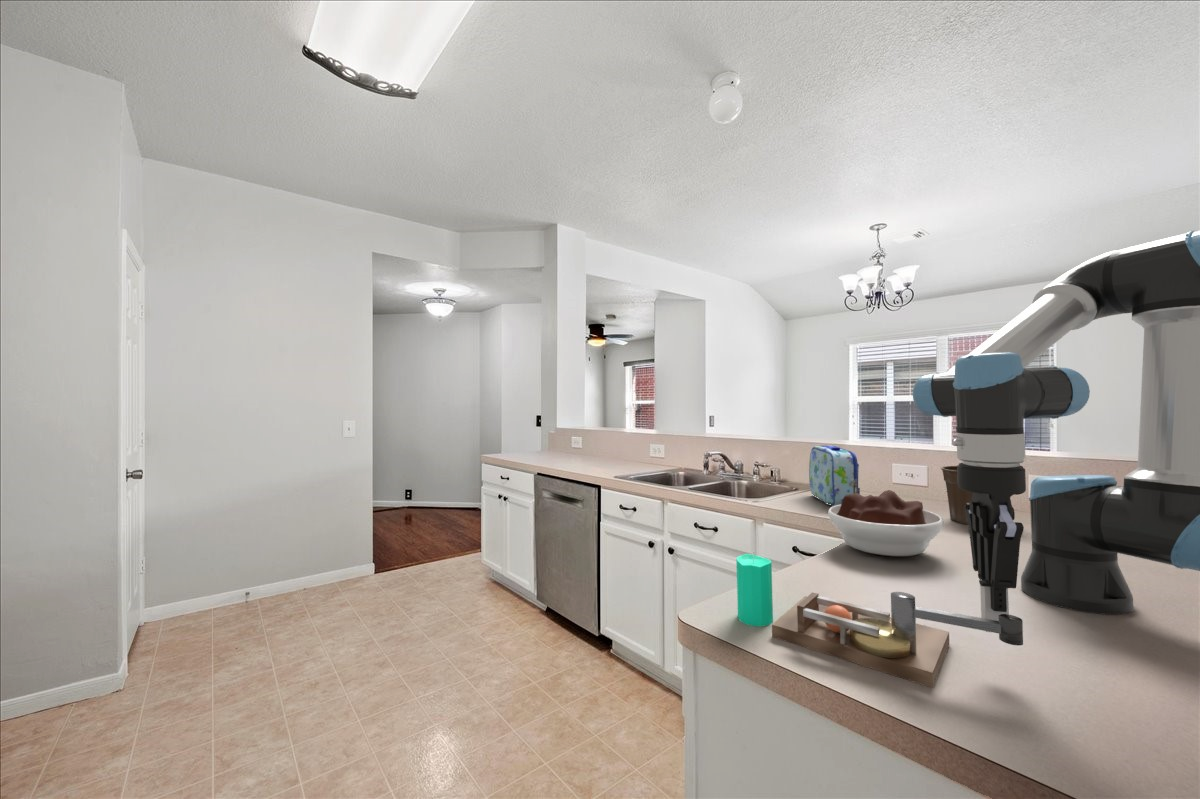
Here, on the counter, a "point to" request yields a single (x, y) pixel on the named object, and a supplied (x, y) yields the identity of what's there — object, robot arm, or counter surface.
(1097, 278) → the robot arm
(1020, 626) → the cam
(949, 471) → the plant pot
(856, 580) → the counter surface
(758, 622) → the candle
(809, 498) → the counter surface
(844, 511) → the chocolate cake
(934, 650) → the stand
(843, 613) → the ball
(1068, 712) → the counter surface
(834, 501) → the lunch box
